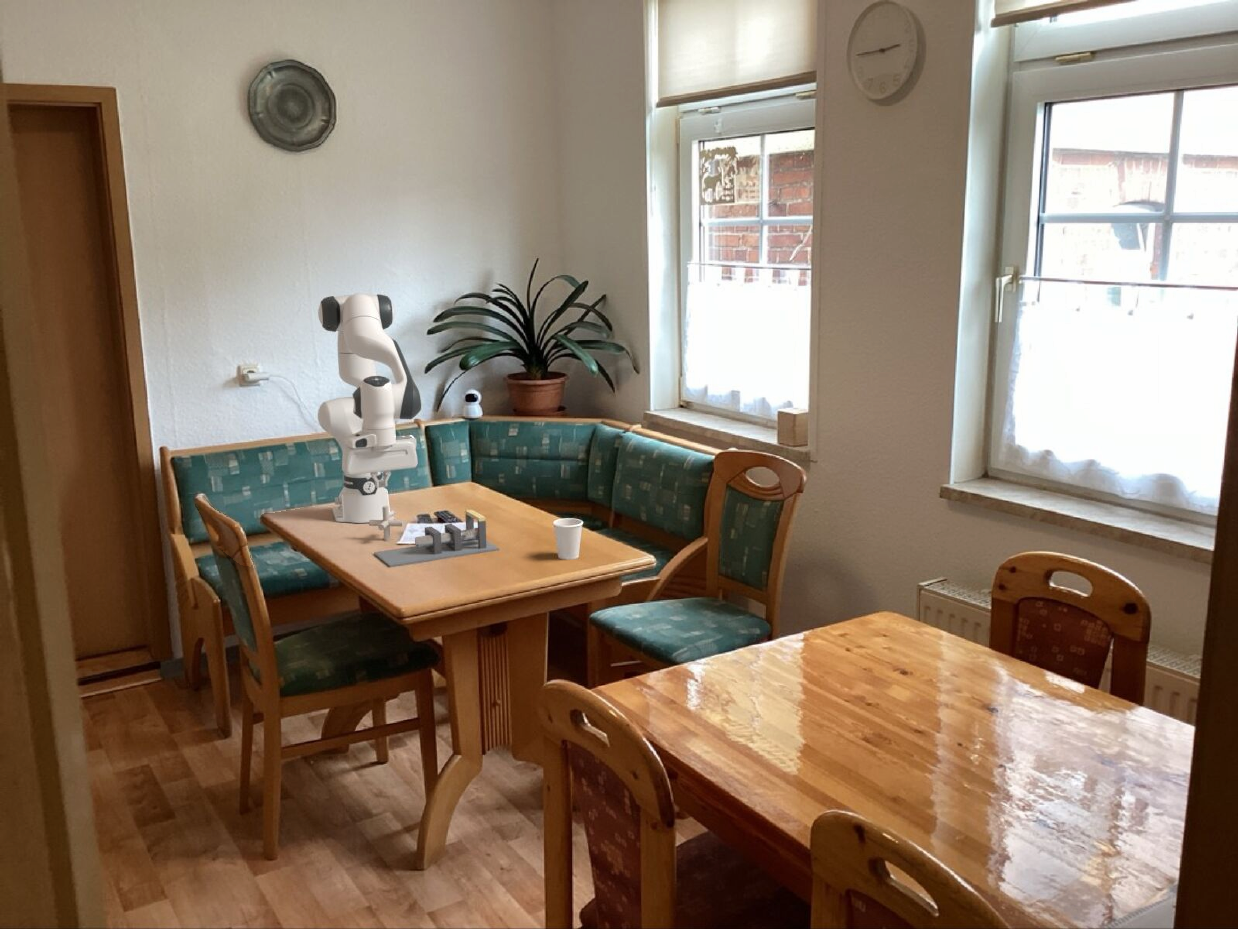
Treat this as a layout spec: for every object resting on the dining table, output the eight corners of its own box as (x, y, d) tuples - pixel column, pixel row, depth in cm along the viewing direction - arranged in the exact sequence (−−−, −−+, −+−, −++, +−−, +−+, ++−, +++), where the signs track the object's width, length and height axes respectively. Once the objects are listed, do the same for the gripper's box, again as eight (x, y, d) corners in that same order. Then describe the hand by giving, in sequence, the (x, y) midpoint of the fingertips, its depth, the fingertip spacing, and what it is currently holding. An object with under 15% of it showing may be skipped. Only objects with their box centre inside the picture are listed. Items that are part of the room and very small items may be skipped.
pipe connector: (408, 535, 320) (407, 502, 318) (398, 544, 310) (396, 511, 308) (376, 534, 321) (374, 502, 319) (365, 543, 311) (363, 510, 309)
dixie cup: (563, 562, 292) (562, 527, 290) (548, 555, 299) (547, 520, 297) (589, 557, 297) (588, 523, 295) (573, 550, 304) (573, 516, 302)
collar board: (374, 554, 301) (372, 521, 299) (479, 538, 317) (478, 506, 315) (390, 567, 289) (388, 533, 287) (498, 549, 305) (498, 517, 303)
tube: (415, 547, 301) (414, 535, 300) (480, 537, 311) (480, 525, 310) (419, 550, 298) (418, 538, 297) (485, 540, 308) (485, 528, 307)
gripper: (412, 431, 296) (414, 480, 299) (338, 438, 286) (341, 488, 289) (420, 435, 291) (421, 485, 294) (345, 443, 281) (348, 494, 284)
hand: (381, 486), depth 291 cm, fingers closed
